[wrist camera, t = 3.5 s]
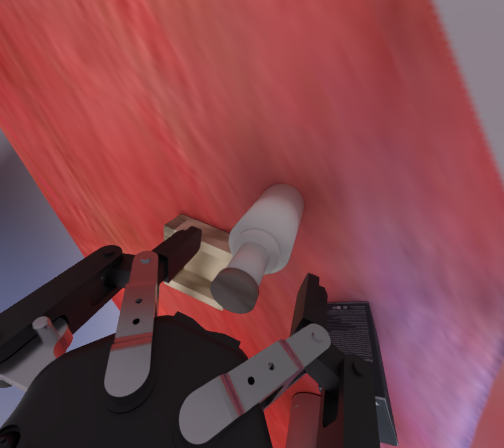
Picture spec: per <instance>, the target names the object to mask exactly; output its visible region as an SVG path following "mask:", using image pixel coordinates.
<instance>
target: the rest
mask: <svg viewBox="0 0 504 448" xmlns="http://www.w3.org/2000/svg"><path fill="white" fill-rule="evenodd" d="M190 226H195V227H197V228H200V229H202V237H201V246H200V249H199V251H198V252H197V254H196V255H195V256H194V257H193V258H192V259H191V260H190V261H189V262H188V263H187V264H186V265H185V266H184V267H183V268H182V270H181V271H180V272H179V273H178V274H177V275H176V276H175V277H174V278H173V279H172V280H171V281H170V282H169V283H166V282H164V284H166V285H169V286H171V287H173V288H175V289H177V290H179V291H181V292H183V293H185V294H187V295H190V296H192V297H194V298H196V299H198V300H200V301H202V302H204V303H206V304H209V305H211V306H213V307H215V308H217V309H219V310H221V311H222V310H223V309H224V308H223V307H222V306H220V305H219V304H218V303H217V302H216V301H215V300H214V298H213V296H212V294H211V291H210V285H211V283H212V281H213V280H214V278H215V277H216V276H217V274H218V273H219V272H220V271H221V270H222V269H224V268H226V267H227V265H228V264H229V263H230V261H231V260H232V258H233V256H232V253H231V250H230V247H229V235H230V233H227V232H225V231H223V230H220V229H218V228H215V227H213V226H210V225H208V224H205V223H203V222H200V221H198V220H195V219H193V218H190V217H188V216H185V215H183V214H180V215H179V216H177V217H176V218H174V219H173V220H171V221H170V222H168V223H167V224H165V225H164V241H165V240H167V238H169V237H171V235H173V234H174V233H175V232H177V231H180V230H182V229H183V230H187V229H188V228H189V227H190Z"/></svg>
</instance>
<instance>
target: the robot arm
mask: <svg viewBox="0 0 504 448" xmlns="http://www.w3.org/2000/svg"><path fill="white" fill-rule="evenodd" d="M201 237H202V229H200V228H197V227H195V226H190V227H189V228H188V229H187V230H183V229H182V230H180V231H177V232H175V233H174V234H173V235H171V237H169V238H167V240H165V241H164V242H162V243H161V244H160V245H158V246H157V247H156V248H155V249H153V250H152V251H143V252H140V253H138V254H137V255H131V254H124V253H122V249H121V248H120V247H119V246H115V245H108V246H104V247H101V248H100V249H98V250H96V251H95V252H93V253H92V254H90V255H89V256H87V257H86V258H84V259H83V260H81V261H80V262H78V263H77V264H75V265H74V266H72V267H71V268H69V269H68V270H66V271H64V272H63V273H61V274H60V275H58V276H57V277H55V278H54V279H52V280H51V281H49V282H48V283H46V284H45V285H43V286H42V287H40V288H39V289H37V290H35V291H34V292H32V293H31V294H29V295H28V296H26V297H25V298H24V299H22V300H20V301H19V302H17V303H16V304H14V305H13V306H11V307H10V308H8V309H7V310H5V311H3V312H2V313H0V388H6V387H10V386H15V387H17V388H19V389H21V390H23V391H25V392H26V393H25V394H24V396H23V398H22V400H21V401H20V403H19V404H18V406H17V407H16V409H15V410H14V411H13V413H12V414H11V416H10V417H9V418H8V419H7V421H6V422H5V423H4V424H3V425H2V427H1V428H0V448H273V447H272V443H271V439H270V435H269V431H268V427H267V423H266V419H265V415H264V412H263V411H264V410H265V409H266V408H267V407H269V406H270V405H271V404H272V403H273V402H274V401H276V400H277V399H278V398H279V397H280V396H281V395H282V394H283V393H284V392H285V391H286V390H287V389H288V388H290V387H291V386H292V385H293V384H294V383H295V382H297V381H298V380H299V379H300V378H301V377H303V376H304V375H305V374H306V373H307V374H308V375H310V376H311V377H312V378H313V379H314V380H315V381H316V382H317V383H318V384H319V385H320V386H321V387H322V389H321V397H320V396H317V395H314V394H309V393H298V394H296V395H294V396H293V398H292V404H291V410H290V419H289V425H288V432H287V440H286V447H285V448H380V441H379V430H378V420H377V410H376V400H375V390H374V380H373V373H372V370H371V368H370V366H369V365H368V364H367V362H366V361H365V360H364V359H363V358H361V357H360V356H358V355H356V354H348V355H346V354H345V353H343V352H342V351H341V350H340V349H338V348H337V347H336V346H335V345H334V344H333V343H332V342H331V339H330V336H329V334H328V332H327V298H328V295H327V292H326V290H325V288H324V287H322V286H319V277H318V276H315V275H313V274H310V273H308V274H307V275H306V277H305V279H304V281H303V283H302V285H301V287H300V289H299V292H298V295H297V300H296V305H295V310H294V316H293V321H292V327H291V332H290V337H289V338H288V339H286V340H284V341H283V340H282V339H281V340H279V341H277V342H275V343H274V344H272V345H271V346H269V347H267V348H266V349H264V350H263V351H261V352H259V353H258V354H256V355H255V356H253V357H252V358H250V359H248V357H247V356H246V354H245V353H244V352H243V351H242V350H241V349H240V348H239V345H240V341H238V340H236V339H234V338H232V337H230V336H228V335H225V334H222V333H217V332H211V331H207V330H205V329H204V328H203V327H201V326H200V325H199V324H198V323H197V322H196V321H195V320H194V319H193V318H191V317H188V316H186V315H184V314H182V313H180V312H178V311H177V313H176V314H175V315H174V316H171V315H164V316H158V307H159V287H160V286H159V284H160V283H161V282H162V281H164V282H166V283H169V282H170V281H171V280H172V279H173V278H174V277H175V276H176V275H177V274H178V273H179V272H180V271H181V270H182V268H183V267H184V266H185V265H186V264H187V263H188V262H189V261H190V260H191V259H192V258H193V257H194V256H195V255H196V254H197V252H198V251H199V249H200V246H201ZM122 288H125V291H124V296H123V301H122V306H121V311H120V316H119V321H118V325H117V330H116V333H114V334H111V335H109V336H106V337H104V338H101V339H99V340H96V341H94V342H91V343H89V344H86V345H84V346H81V347H79V348H76V349H74V350H71V351H69V352H67V353H65V352H66V349H67V348H68V347H69V346H70V344H71V342H72V340H73V334H74V333H75V332H76V331H77V330H78V329H79V328H80V327H81V326H82V325H84V324H85V323H86V322H87V321H88V320H89V319H90V318H91V317H92V316H93V315H94V314H95V313H96V312H97V311H98V310H99V309H101V308H102V307H103V306H104V305H105V304H106V303H107V302H108V301H109V300H110V299H111V298H112V297H113V296H115V295H116V294H117V293H118V292H119V291H120V290H121V289H122Z"/></svg>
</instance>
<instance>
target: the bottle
mask: <svg viewBox="0 0 504 448" xmlns="http://www.w3.org/2000/svg"><path fill="white" fill-rule="evenodd" d="M303 211H304V200H303V197H302V195H301V194H300V192H299V191H298V190H297V189H295V188H294V187H292V186H290V185H287V184H275V185H272V186H270V187H269V188H268V189H266V190H265V192H264V193H263V194H262V195H261V196H260V197H259V199H258V200H257V201H256V202H255V203H254V204H253V205H252V207H251V208H250V209H249V210H248V211H247V212H246V214H245V215H244V216H243V217H242V218H241V219H240V220H239V222H238V223H237V224H236V225H235V226H234V227H233V229H232V230H231V232H230V235H229V247H230V250H231V253H232V256H233V258H232V260H231V261H230V263H229V264H228V265H227V267H226V268H224V269H222V270H221V271H220V272H219V273H218V274H217V276H216V277H215V278H214V280H213V281H212V283H211V285H210V291H211V294H212V296H213V298H214V300H215V301H216V302H217V303H218V304H219V305H220V306H222V307H223V308H224V309H226V310H228V311H231V312H233V313H239V314H243V313H248V312H250V311H251V310H252V309H253V308H254V306H255V303H256V301H257V298H258V296H259V285H260V283H261V280H262V278H263V276H264V275H266V274H271V273H275V272H278V271H280V270H281V269H283V268H284V267H285V266H286V264H287V263H288V261H289V258H290V255H291V252H292V248H293V245H294V241H295V238H296V235H297V231H298V228H299V225H300V221H301V218H302V214H303Z"/></svg>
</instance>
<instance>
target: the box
mask: <svg viewBox="0 0 504 448" xmlns="http://www.w3.org/2000/svg"><path fill="white" fill-rule="evenodd" d="M327 332H328V334H329V336H330V339H331V342H332V343H333V344H334V345H335V346H336V347H337V348H338V349H340V350H341V351H342V352H343V353H345V354H346V355H348V354H356V355H358V356H360V357H361V358H363V359H364V360H365V361H366V362H367V364H368V365H369V366H370V368H371V370H372V373H373V380H374V390H375V400H376V410H377V420H378V430H379V441H380V442H382V443H386V444H390V445H394V446H397V445H399V443H398V440H397V434H396V430H395V424H394V419H393V414H392V409H391V404H390V399H389V393H388V389H387V383H386V378H385V373H384V368H383V363H382V358H381V352H380V347H379V342H378V337H377V333H376V329H375V325H374V321H373V317H372V313H371V310H370V306H369V303H368V302H347V303H344V302H342V303H327ZM321 389H322V387H321V386H320V385H319V390H320V392H321Z"/></svg>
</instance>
